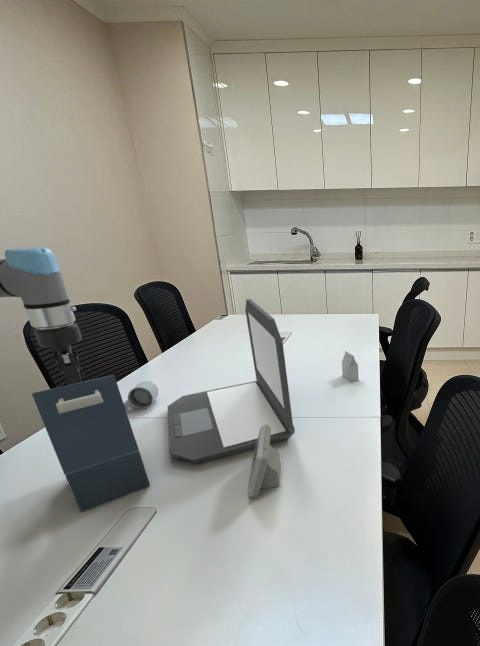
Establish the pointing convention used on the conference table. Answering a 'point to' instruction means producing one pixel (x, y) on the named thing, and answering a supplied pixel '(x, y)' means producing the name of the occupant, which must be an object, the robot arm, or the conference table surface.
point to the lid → (86, 422)
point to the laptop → (237, 402)
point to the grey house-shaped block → (349, 367)
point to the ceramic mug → (142, 395)
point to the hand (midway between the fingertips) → (87, 413)
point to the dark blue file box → (108, 480)
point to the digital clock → (264, 464)
